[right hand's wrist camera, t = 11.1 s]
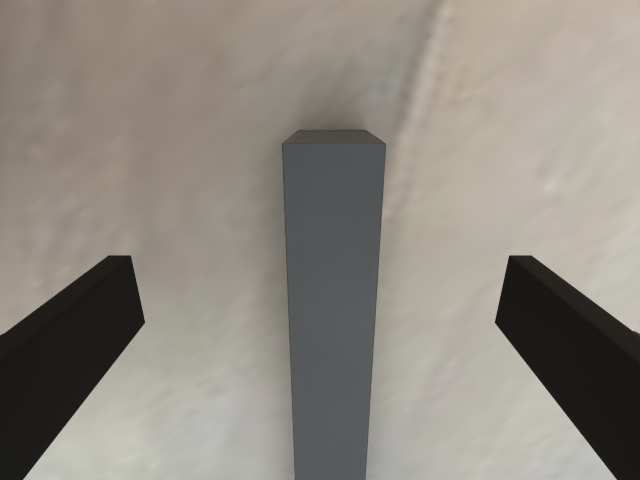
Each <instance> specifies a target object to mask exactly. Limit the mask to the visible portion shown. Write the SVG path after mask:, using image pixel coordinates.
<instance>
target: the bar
mask: <svg viewBox="0 0 640 480" xmlns="http://www.w3.org/2000/svg"><path fill="white" fill-rule="evenodd" d="M385 152H386V144H385V143H384V142H383V141H381V140H380V139H378V138H377V137H375V136H374V135H372V134H371V133H370V132H368V131H367V130H298V131H297V132H295V133H294V134H293V135H292V136H291V137H290V138H288V139H287V140H286V141H285V142H284V143H283V144H282V154H283V180H284V206H285V232H286V258H287V284H288V310H289V336H290V362H291V388H292V414H293V440H294V466H295V480H365V477H366V461H367V444H368V428H369V412H370V396H371V379H372V363H373V347H374V331H375V314H376V298H377V282H378V266H379V250H380V233H381V217H382V201H383V185H384V168H385Z"/></svg>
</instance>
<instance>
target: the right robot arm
mask: <svg viewBox="0 0 640 480" xmlns="http://www.w3.org/2000/svg"><path fill="white" fill-rule="evenodd" d="M144 323H145V320H144V315H143V310H142V306H141V301H140V296H139V292H138V287H137V282H136V278H135V273H134V268H133V264H132V259H131V256H107V257H106V258H105V259H103V260H102V261H101V262H99V263H98V264H97V265H95V266H94V267H93V268H91V269H90V270H89V271H87V272H86V273H85V274H83V275H82V276H81V277H79V278H78V279H77V280H75V281H74V282H73V283H71V284H70V285H69V286H67V287H66V288H65V289H63V290H62V291H61V292H59V293H58V294H56V295H55V296H54V297H52V298H51V299H50V300H48V301H47V302H46V303H44V304H43V305H42V306H40V307H39V308H38V309H36V310H35V311H34V312H32V313H31V314H30V315H28V316H27V317H26V318H24V319H23V320H22V321H20V322H19V323H18V324H16V325H15V326H14V327H12V328H11V329H10V330H8V331H7V332H6V333H4V334H2V335H0V480H23V479H24V478H25V476H26V475H27V474H28V473H29V471H30V470H31V469H32V467H33V466H34V465H35V464H36V462H37V461H38V460H39V458H40V457H41V456H42V455H43V453H44V452H45V451H46V449H47V448H48V447H49V446H50V444H51V443H52V442H53V440H54V439H55V438H56V437H57V435H58V434H59V433H60V431H61V430H62V429H63V428H64V426H65V425H66V424H67V422H68V421H69V420H70V419H71V417H72V416H73V415H74V413H75V412H76V411H77V410H78V408H79V407H80V406H81V404H82V403H83V402H84V401H85V399H86V398H87V397H88V395H89V394H90V393H91V392H92V390H93V389H94V388H95V386H96V385H97V384H98V383H99V381H100V380H101V379H102V377H103V376H104V375H105V374H106V372H107V371H108V370H109V368H110V367H111V366H112V365H113V363H114V362H115V361H116V359H117V358H118V357H119V356H120V354H121V353H122V352H123V350H124V349H125V348H126V347H127V345H128V344H129V343H130V341H131V340H132V339H133V338H134V336H135V335H136V334H137V332H138V331H139V330H140V329H141V327H142V326H143V325H144ZM495 323H496V325H497V326H498V327H499V329H500V330H501V331H502V332H503V334H504V335H505V336H506V338H507V339H508V340H509V341H510V343H511V344H512V345H513V347H514V348H515V349H516V350H517V352H518V353H519V354H520V356H521V357H522V358H523V359H524V361H525V362H526V363H527V365H528V366H529V367H530V368H531V370H532V371H533V372H534V374H535V375H536V376H537V377H538V379H539V380H540V381H541V383H542V384H543V385H544V386H545V388H546V389H547V390H548V392H549V393H550V394H551V395H552V397H553V398H554V399H555V401H556V402H557V403H558V404H559V406H560V407H561V408H562V410H563V411H564V412H565V413H566V415H567V416H568V417H569V419H570V420H571V421H572V422H573V424H574V425H575V426H576V428H577V429H578V430H579V431H580V433H581V434H582V435H583V437H584V438H585V439H586V440H587V442H588V443H589V444H590V446H591V447H592V448H593V449H594V451H595V452H596V453H597V455H598V456H599V457H600V458H601V460H602V461H603V462H604V464H605V465H606V466H607V467H608V469H609V470H610V471H611V473H612V474H613V475H614V476H615V478H616V479H617V480H640V334H639V333H637V332H635V331H632V330H630V329H629V328H628V327H626V326H625V325H624V324H622V323H621V322H620V321H618V320H617V319H616V318H614V317H613V316H612V315H610V314H609V313H608V312H606V311H605V310H604V309H602V308H601V307H600V306H598V305H597V304H596V303H594V302H593V301H592V300H590V299H589V298H588V297H586V296H585V295H584V294H582V293H581V292H579V291H578V290H577V289H575V288H574V287H573V286H571V285H570V284H569V283H567V282H566V281H565V280H563V279H562V278H561V277H559V276H558V275H557V274H555V273H554V272H553V271H551V270H550V269H549V268H547V267H546V266H545V265H543V264H542V263H541V262H539V261H538V260H537V259H535V258H534V257H533V256H509V259H508V264H507V268H506V273H505V278H504V282H503V287H502V292H501V296H500V301H499V306H498V310H497V315H496V320H495Z"/></svg>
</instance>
